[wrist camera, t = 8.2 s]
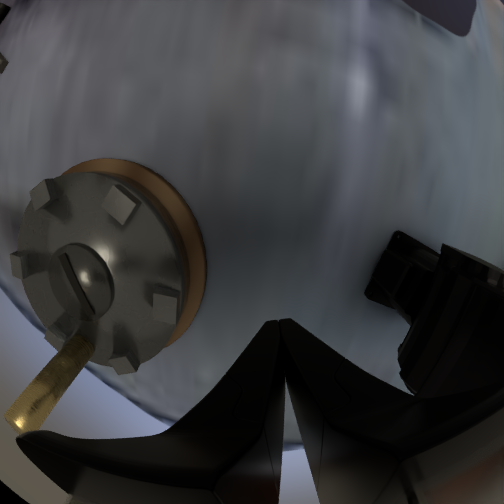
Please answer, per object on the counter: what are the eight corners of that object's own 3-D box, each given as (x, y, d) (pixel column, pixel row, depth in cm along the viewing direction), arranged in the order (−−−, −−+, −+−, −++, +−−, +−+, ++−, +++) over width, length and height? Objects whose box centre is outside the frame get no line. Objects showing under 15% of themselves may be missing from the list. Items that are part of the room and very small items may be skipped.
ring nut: (222, 326, 22) (192, 478, 8) (86, 358, 23) (21, 448, 10) (143, 135, 18) (-6, 102, 4) (19, 219, 19) (-86, 259, 6)
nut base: (239, 201, 21) (238, 203, 19) (176, 371, 25) (172, 380, 24) (61, 139, 19) (52, 138, 18) (38, 300, 24) (31, 306, 22)
